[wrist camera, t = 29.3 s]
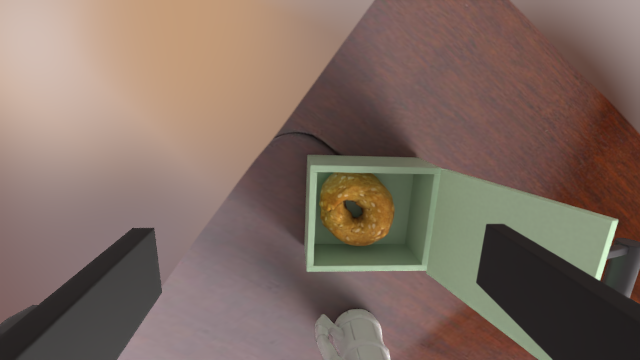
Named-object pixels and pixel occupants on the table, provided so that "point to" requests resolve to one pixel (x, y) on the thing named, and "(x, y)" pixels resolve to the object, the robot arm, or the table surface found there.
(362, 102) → the table surface
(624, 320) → the robot arm
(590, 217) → the lunchbox lid
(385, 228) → the bagel
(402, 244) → the box
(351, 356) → the mug
